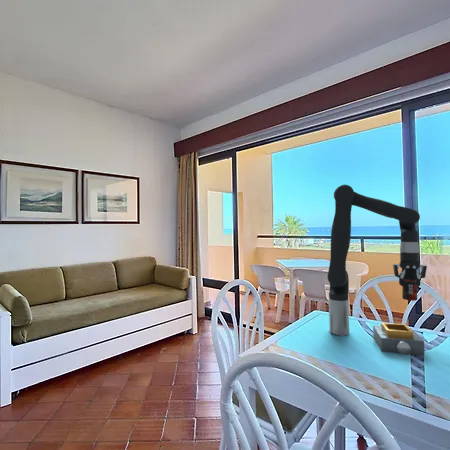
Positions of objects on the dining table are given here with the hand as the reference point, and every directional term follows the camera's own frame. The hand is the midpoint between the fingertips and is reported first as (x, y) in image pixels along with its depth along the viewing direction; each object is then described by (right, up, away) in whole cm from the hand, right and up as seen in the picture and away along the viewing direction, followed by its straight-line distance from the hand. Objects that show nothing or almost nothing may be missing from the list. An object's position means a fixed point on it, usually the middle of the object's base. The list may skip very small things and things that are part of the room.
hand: (409, 286), depth 137 cm
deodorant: (0, -6, 0) cm, 6 cm away
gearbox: (-11, -25, -8) cm, 29 cm away
